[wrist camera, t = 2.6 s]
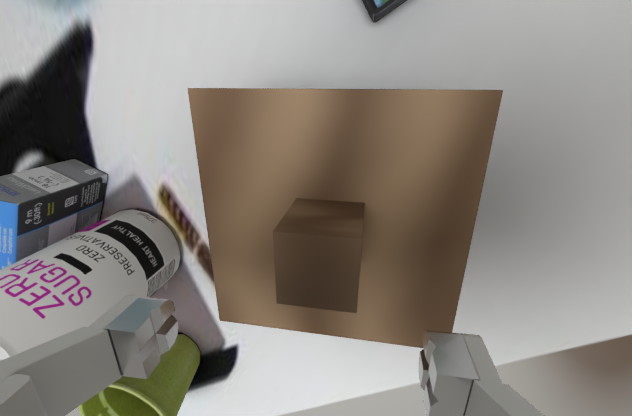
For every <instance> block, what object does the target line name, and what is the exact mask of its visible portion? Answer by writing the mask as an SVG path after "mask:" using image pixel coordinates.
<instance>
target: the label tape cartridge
mask: <svg viewBox="0 0 632 416" xmlns="http://www.w3.org/2000/svg"><path fill="white" fill-rule="evenodd" d="M107 177H108V175H107V174H106V173H104V172H102V171H100V170H98V169H96V168H94V167H92V166H90V165H87V164H85V163H83V162H81V161H79V160H77V159H72V160H68V161H64V162H59V163H55V164H51V165H47V166H43V167H38V168H34V169H30V170H26V171H21V172H17V173H13V174H9V175H4V176H0V270H1V269H3V268H5V267H7V266H10V265H12V264H14V263H16V262H18V261H20V260H22V259H24V258H26V257H28V256H30V255H32V254H34V253H36V252H38V251H40V250H42V249H44V248H46V247H48V246H50V245H52V244H54V243H56V242H58V241H60V240H62V239H64V238H67V237H69V236H71V235H73V234H75V233H77V232H79V231H81V230H83V229H85V228H87V227H89V226H91V225H93V224H95V223H97V222H99V221H100V215H101V210H102V204H103V199H104V193H105V187H106V182H107Z"/></svg>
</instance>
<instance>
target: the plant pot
mask: <svg viewBox="0 0 632 416" xmlns="http://www.w3.org/2000/svg"><path fill="white" fill-rule="evenodd" d="M199 363H200V351H199V349H198V347H197V345H196V344H195V343H194V342H193V341H192V340H191V339H190V338H189V337H187V336H185V335H184V334H178V335H177V337H176V340H175V343H174V344H173V346H172V347H171V348H170V350H169V351H167V352H165V353H163V354H162V355H160V363H159V364H158V365H157V367H156V368H155V369H154V370H153V372H152V373H151V374H150V376H149V377H148V378H147V379H142V378H134V377H126V376H121V378H120V379H118V380H117V381H115V382H114V383H113V384H111V385H110V386H108V387H107V388H105V389H104V390H102V391H101V392H99V393H98V394H96V395H95V396H93V397H92V398H90V399H89V400H87V401H86V402H84V403H83V404H81V405H80V406H78V407H79V411H80V414H81V416H177V414H178V411H179V409H180V407H181V404H182V402H183V400H184V397H185V395H186V393H187V390H188V388H189V386H190V384H191V381H192V379H193V377H194V375H195V372H196V370H197V368H198V366H199Z"/></svg>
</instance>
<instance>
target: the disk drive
mask: <svg viewBox="0 0 632 416" xmlns="http://www.w3.org/2000/svg"><path fill="white" fill-rule="evenodd" d="M362 1H363V3H364V5H365V7H366V9H367V11H368V13H369V15H370V17H371V19H372V21H373V22H377V21H378V20H380V19H381V18H382V17H384V16H385V15H387V14H388V13H389V12H391V11H392V10H393V9H395V8H396V7H398V6H399V5H401V4H402V3H404V2H405V1H406V0H362Z"/></svg>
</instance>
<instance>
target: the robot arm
mask: <svg viewBox="0 0 632 416" xmlns="http://www.w3.org/2000/svg"><path fill="white" fill-rule="evenodd" d="M174 311H175V307H174V303H173V302H172V301H170V300H167V299H160V298H153V297H146V296H137V295H127V296H124V297H123V298H122V299H121V300H120V301H118V302H117V303H116V304H115V305H114V306H113V307H111V308H110V309H109V310H108V311H107V312H105V313H104V314H103V315H102V316H101V317H99V318H98V319H97V320H96V321H95V322H93V323H92V324H91V325H90V326H89V327H81V328H79V329H77V330H74V331H72V332H69V333H67V334H64V335H62V336H60V337H57V338H55V339H52V340H50V341H47V342H45V343H43V344H40V345H38V346H35V347H33V348H30V349H28V350H26V351H23V352H21V353H18V354H16V355H14V356H11V357H9V358H6V359H4V360H1V361H0V416H65V415H67V414H68V413H70V412H71V411H72V410H74V409H75V408H77V407H78V406H80V405H81V404H83V403H84V402H86V401H87V400H89V399H90V398H92V397H93V396H95V395H96V394H98V393H99V392H101V391H102V390H104V389H105V388H107V387H108V386H110V385H111V384H113V383H114V382H115V381H117V380H118V379H120V378H121V376H126V377H134V378H142V379H147V378H148V377H149V376H150V374H151V373H152V372H153V370H154V369H155V368H156V367H157V365H158V364H159V363H160V355H162V354H163V353H165V352H167V351H169V350H170V348H171V347H172V346H173V344H174V343H175V340H176V337H177V335H178V322H177V320H176V319H175V318H174V317H173V315H172V314H173V313H174ZM422 342H423V347H424V349H423V350H422V351H421V352H420V357H419V379H420V385H421V387H422V388H423V390H424V391H425V393H424V400H423V403H424V408H425V414H426V416H544V415H543V414H542V413H541V412H540V411H539V410H537V409H536V408H535V407H534V406H533V405H532V404H530V403H529V402H528V401H527V400H526V399H525V398H523V397H522V396H521V395H520V394H519V393H518V392H516V391H515V390H514V389H513V388H512V387H510V386H509V385H506V384H502V381H501V379H500V377H499V375H498V373H497V370H496V368H495V366H494V364H493V362H492V359H491V357H490V355H489V353H488V351H487V348H486V346H485V344H484V342H483V340H482V338H481V337H480V336H479V335H472V334H462V333H461V334H458V333H449V332H440V331H431V330H425V331H424V333H423V338H422Z"/></svg>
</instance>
